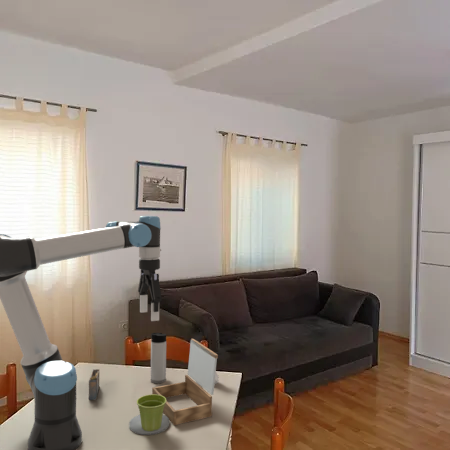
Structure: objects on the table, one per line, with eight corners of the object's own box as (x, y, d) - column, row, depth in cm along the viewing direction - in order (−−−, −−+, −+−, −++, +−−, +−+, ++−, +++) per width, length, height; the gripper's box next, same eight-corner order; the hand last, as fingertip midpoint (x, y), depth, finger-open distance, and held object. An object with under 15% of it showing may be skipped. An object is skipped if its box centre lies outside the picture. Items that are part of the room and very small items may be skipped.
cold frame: (173, 425, 145) (173, 404, 144) (152, 399, 164) (152, 381, 163) (211, 416, 151) (211, 396, 151) (186, 392, 170) (187, 374, 170)
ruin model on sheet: (97, 400, 163) (97, 374, 163) (88, 400, 162) (88, 375, 162) (100, 388, 174) (100, 363, 174) (92, 388, 174) (92, 364, 173)
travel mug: (146, 381, 181) (147, 333, 180) (157, 376, 186) (158, 329, 185) (157, 385, 177) (158, 336, 176) (168, 379, 183) (169, 332, 182)
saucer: (136, 438, 136) (136, 435, 136) (124, 420, 147) (124, 417, 147) (175, 429, 142) (175, 426, 142) (161, 412, 153) (161, 409, 153)
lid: (215, 354, 151) (217, 354, 152) (190, 338, 170) (193, 338, 170) (211, 394, 151) (214, 394, 152) (187, 374, 170) (189, 374, 170)
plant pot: (160, 435, 136) (161, 408, 135) (131, 432, 137) (132, 405, 137) (169, 421, 145) (170, 395, 145) (142, 418, 146) (142, 393, 146)
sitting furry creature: (203, 377, 186) (204, 349, 186) (222, 380, 183) (223, 352, 183) (194, 385, 178) (194, 356, 177) (213, 388, 174) (214, 359, 174)
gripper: (171, 261, 150) (170, 323, 151) (149, 254, 172) (148, 308, 173) (150, 262, 147) (149, 325, 148) (130, 255, 169) (129, 309, 170)
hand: (149, 316), depth 160 cm, fingers open, 13 cm apart
